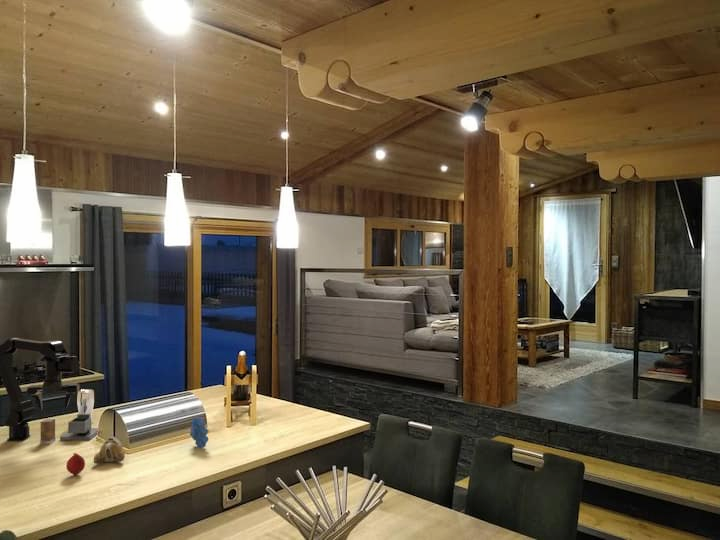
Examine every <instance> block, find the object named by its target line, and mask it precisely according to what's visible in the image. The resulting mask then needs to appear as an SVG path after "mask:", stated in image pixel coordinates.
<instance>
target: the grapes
mask: <svg viewBox="0 0 720 540" xmlns="http://www.w3.org/2000/svg"><path fill="white" fill-rule="evenodd" d="M191 424H192V425H191V427H190V432H189V435H190V436H191V438H192V440H194V441H195V442H194V443H195V445H196V446H197V447H200V448H205V447H206V445H207V443H208V441H209V437H208V436H207V435H208V433H209V430H208V429H207V427H205V426H206V424H207V423H206V422H205V420H203V419H202V417H200V416H196V417H195V418H194V417H193V419H192V420H191Z"/></svg>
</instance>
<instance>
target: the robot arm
mask: <svg viewBox="0 0 720 540" xmlns="http://www.w3.org/2000/svg"><path fill="white" fill-rule="evenodd" d="M18 350H24V351H32V352H37V353H39V354H40V355H42V356H43V357H41V359H40V361H41V362H45V376H44V381H43V384H42V385H41V384H32V385H29V386H28V387H27V388H26V396H27V395H28V396H30V397H33V399H35V401H36V403H37V406H38V408H39V410H40V411H42V410H43V406H44V405H43V394H44V395H46V394H56V393H57V392H60V391H62V392H63V391H66V393H65V402H64V410H67V409H68V406H69V403H70V400H71V398H72V396H73V395H74V394H76V393H78V391H80V390H81V389H80V384H79V383H78V382H73V383H68V384H66V385H63V382H62V373H67V374H68V373H69V374H71V373H72V374H76V373H78V372H79V371H80V369H81V363H80V360H79V359H78V356H76V355H70V354H69V352H68V351H67V349H66V347H65V346H64V344H63V342H62V341H60V340H48V341H41V340H32V339H27V338H20V337H11V338H8V339H6V340H5V342H3V343H1V344H0V379H1V380H2V383H3V385H4V388H5V391H6V392H7V396H8V399H9V401H10V408H9V412H10V413H9V414H10V416H9V417H8V418H6V420H5V421H4V423H5V425H6V427H8V438H7V439H6V441H8V442H10V441H24V440H26V439H27V438H29V437H31V434H30V426H29V422H31V421H32V419H33V417H34V414H35V413H36V411H35V410H36V407H35V405H34V403H33V400H32V399H29V400H28V399H27V398H25V396H24V394H23V392H22V389H21V386H20V383H19V381H18V378H17V376H16V373H15V371H14V368H13V362H14V356H13V355H14V354H15V353H16V352H17V351H18Z"/></svg>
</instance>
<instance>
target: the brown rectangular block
mask: <svg viewBox="0 0 720 540" xmlns="http://www.w3.org/2000/svg"><path fill="white" fill-rule="evenodd" d="M39 442H40V443H39V444H40V445H45V444H47V445H49V444H53V443H54V442H56V419H55V418H44V419H43V420H41V421H40V441H39Z"/></svg>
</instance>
